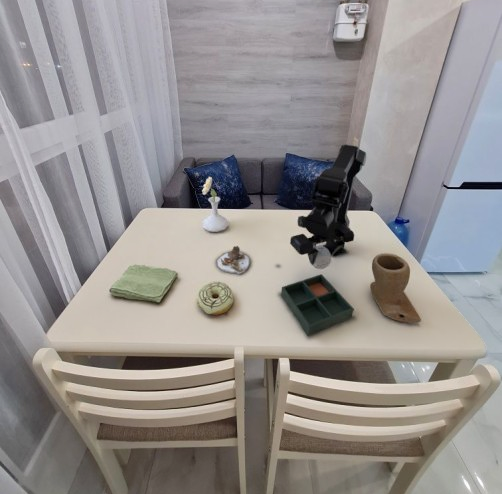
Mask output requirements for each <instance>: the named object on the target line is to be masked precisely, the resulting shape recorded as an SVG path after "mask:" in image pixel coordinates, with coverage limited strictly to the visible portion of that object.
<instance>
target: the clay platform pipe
mask: <svg viewBox="0 0 502 494" xmlns="http://www.w3.org/2000/svg"><path fill="white" fill-rule="evenodd" d="M371 271H372V275H373V279H374V280H373V282H371V283H370V291H371V294H372V296H373V297H374V300H375V301H376V304H377V305H378V307H379V309H380V311H381V312H382V314H383V315H384V316H385V317H388V318H390V319H392V320H394V321H398V322H402V323H407V324H408V323H412V324H414V323H415V324H416V323H421V322H422V318H421V316H420V315H419V313H418V311H417V309H416V308H415V307H414V305H413V303H412V302H411V300H410V298H409V297H408V296H407V294H406V292H405V289H406V288H407V287H408V284H409V281H410V276H411V267H410V265H409V263H408V262H407V261H406V260H405V259H404V258H403V257H401V256H399V255H397V254H394V253H387V252H386V253H379V254H377V255H375V256H374V257H373V259H372V262H371Z"/></svg>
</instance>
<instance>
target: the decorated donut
mask: <svg viewBox="0 0 502 494" xmlns="http://www.w3.org/2000/svg"><path fill="white" fill-rule="evenodd" d="M196 302H197V305H198V306H199V308H200V309H201V310H203V311H204V313H206V314H207V315H220V314H224V313H226V312H228V311H229V309H230V308H231V307H232V305H233V303H234V293H233V290H232V288H231V287H230V286H229V285H228V284H226V282H221V281H212V282H209V283H207V284H205V285H203V286H201V287H200V288H199V290H198V292H197V295H196Z"/></svg>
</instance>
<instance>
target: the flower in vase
mask: <svg viewBox="0 0 502 494" xmlns="http://www.w3.org/2000/svg"><path fill="white" fill-rule="evenodd" d="M212 182H213V177H211V176H208V178H206V180H205V183H204V184H203V188H202V189H201V192H202V195H204V196H205V195H207V193H208V192H209V191H210V190H211V191H210V195H211V197H209V198H208V199H207V200H208V202H209V203H210V205H211V211H212V212H211V214H210V215H208V216H207V217H206V218H205V219H204V220H203V221H202V228H204V229H205V231H208V232H211V233H212V232H213V233H216V232H222V231H224V230H225V229H227V228H228V227H229V220H228V219H227V218H226V217H225V216H223V215H221V214H219V212H218V207H219V206H218V205H219V203H220V201H221V197H219V196H217V192H216V191H215V189H214V188H212V187H211V186H212Z"/></svg>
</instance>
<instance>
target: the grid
mask: <svg viewBox="0 0 502 494" xmlns="http://www.w3.org/2000/svg"><path fill="white" fill-rule="evenodd" d="M280 291H281V293H280V296H281V297H282V299H283V300H284V302H285V303H286V305H287V307H288V308H289V309H290V311H291V312H292V313H293V316H294V317H295V318H296V321H298V323H299V324H300V326H301V328H302V329H303V330H304V332H305V333H306V335H307V336H308V337H309V336H311V335H313V334H316V333H318V332H321V331H323V330H326V329H328V328H330V327H333V326H335V325H337V324H339V323H342V322H344V321H347V320H350V319H352V318H353V314H354V311H355V308H354V307H353V306H352V305H351V304H350V303H349V302H348V301H347V300H346V298H344V297H343V295H342V294H341V293H340V292H339V291H338V290H337V289H336V288H335V287H334V286H333V285H332V283H330V281H329V280H328V279H327V278H326V277H325V276H324V275H323V274H322V273H321V274H316V275H315V276H312V277H309V278H305V279H302V280H299V281H296V282H293V283H290V284H287V285H284V286H281V290H280Z"/></svg>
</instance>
